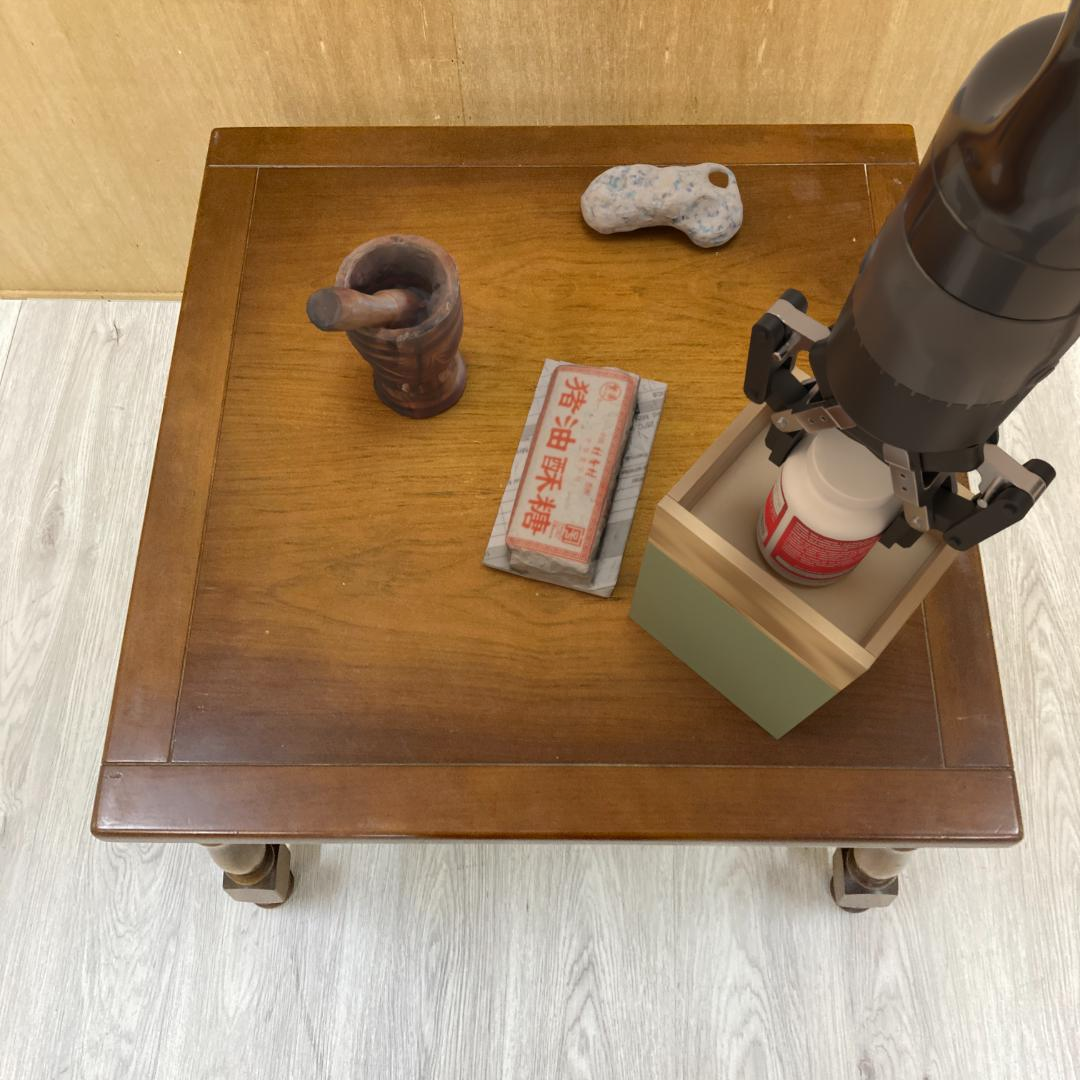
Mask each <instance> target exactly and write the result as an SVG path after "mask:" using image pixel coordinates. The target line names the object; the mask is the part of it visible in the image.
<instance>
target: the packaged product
mask: <svg viewBox="0 0 1080 1080" xmlns="http://www.w3.org/2000/svg"><path fill="white" fill-rule="evenodd" d="M667 389H668V383H666V382H662V381H658V380H652V379H648V378H643V377H641V375H640V374H638V373H637V374H636V373H635V372H630V371H627V370H624V369H621V368H619V367H617V366H615V367H613V366H602V367H599V366H596V365H595V366H594V365H592V366H590V365H583V364H577V363H574V362H573V363H572V362H568V361H564V360H559V361H558V360H554V359H552V358H548V357H546V358H545V361H544V363H543V367H542V369H541V373H540V376H539V377H538V382H537V385H536V388H535V392H534V395H533V398H532V402H531V405H530V408H529V411H528V414H527V416H526V417H527V418H526V420H525V423H524V426H523V427H524V428H523V430H522V433H521V437H520V439H519V443H518V447H517V450H516V453H515V455H514V459H513V462H512V465H511V470H510V475H509V479H508V480H507V482H506V487H505V489H504V492H503V495H502V497H501V500H500V504H499V507H498V512H497V515H496V519H495V521H494V525H493V526H492V527H493V528H492V531H491V533H490V537H489V540H488V543H487V547H486V549H485V552H484V556H483V559H482V563H481V565H482V566H486V567H490V568H493V569H496V570H499V571H502V572H507V573H510V574H514V575H518V576H520V577H524V578H527V579H531V580H535V581H540V582H544V583H547V584H552V585H557V586H561V587H564V588H567V589H572V590H575V591H576V590H577V591H580V592H584V593H588V594H590V595H591V594H592V595H595V596H599V597H603V598H610V597H611V594H612V593H613V591H614V589H615V587H616V584H617V581H618V578H619V573H620V570H621V565H622V561H623V555H624V552H625V549H626V545H627V542H628V538H629V535H630V531H631V528H632V524H633V521H634V518H635V513H636V508H637V503H638V500H639V497H640V493H641V490H642V486H643V484H644V480H645V477H646V474H647V469H648V465H649V460H650V457H651V454H652V450H653V446H654V442H655V439H656V435H657V431H658V428H659V423H660V420H661V416H662V413H663V409H664V405H665V404H664V403H665V399H666V395H667V394H666V393H667Z"/></svg>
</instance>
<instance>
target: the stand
mask: <svg viewBox="0 0 1080 1080" xmlns="http://www.w3.org/2000/svg"><path fill="white" fill-rule="evenodd" d="M627 617H628V618H629V619H631V620H632V621H633V622H634V623H635V624H637V626H639V627H640V628H641V629H643V630H644V631H645V632H646V633H648V634H649V636H651V637H652V638H653V639H655V640H656V641H657V642H658V643H660V644H661V645H662V646H663V647H664V648H666V649H667V651H669V652H671V654H673V655H674V656H675V657H677V658H678V659H679V660H680V661H681V662H683V664H685V665H686V666H687V667H689V669H691V670H692V671H693V672H694V673H696V674H697V675H698V676H700V677H701V678H702V679H703V680H705V682H707V683H708V684H709V685H710V686H711V687H712V688H714V689H715V690H716V691H717V692H719V693H720V694H721V695H722V696H723V697H725V698H726V699H727V700H728V701H730V702H731V703H732V704H733V705H734V706H736V707H737V708H738V709H739V710H741V712H743V713H744V714H745V715H747V716H748V717H749V718H750V719H751V720H753V721H754V722H755V723H756V724H757V725H759V726H760V727H761V728H762V729H763V730H764V731H766V732H767V733H768V734H770V735H771V736H772V737H773V738H774V739H776V740H779V739H781V738H782V737H783V736H784V735H786V734H787V733H788V732H790V731H791V730H792V729H794V728H795V727H796V726H797V725H798V724H800V723H802V722H803V721H805V719H807V718H808V717H809V716H810V715H812V714H813V713H814V712H815V711H817V710H818V709H819V708H821V707H822V706H824V704H826V703H827V702H828V701H830V700H831V699H832V698H834V697H835V696H836V695H837V694H839V693H840V692H837V691H836V690H834V689H833V688H832V687H831V686H829V685H828V684H827V683H826V682H824V681H823V680H822V679H821V678H819V677H818V676H817V675H816V674H814V673H813V672H812V671H811V670H809V669H808V668H807V667H806V666H804V665H803V664H802V663H801V662H799V661H798V660H797V659H796V658H794V657H793V656H792V655H791V654H789V653H788V652H787V651H786V650H784V649H783V648H782V647H781V646H779V645H778V644H777V643H776V642H774V641H773V640H772V639H771V638H769V637H768V636H767V635H766V634H764V633H763V632H762V631H761V630H759V629H758V628H757V627H756V626H754V625H753V624H752V623H751V622H749V621H748V620H747V619H746V618H744V617H743V616H742V615H741V614H739V613H738V612H737V611H736V610H734V609H733V608H732V607H731V606H729V605H728V604H727V603H726V602H724V601H723V600H722V599H721V598H719V597H718V596H717V595H716V594H714V593H713V592H712V591H711V590H709V589H708V588H707V587H706V586H704V585H703V584H702V583H701V582H699V581H698V580H697V579H696V578H694V577H693V576H692V575H691V574H689V573H688V572H687V571H686V570H684V569H683V568H682V567H681V566H679V565H678V564H677V563H676V562H674V561H673V560H672V559H671V558H669V557H668V556H667V555H666V554H664V553H663V552H662V551H661V550H659V549H658V548H657V547H656V546H654V545H653V544H652V543H651V542H649V541H648V540H647V542H646V546H645V550H644V554H643V557H642V561H641V565H640V568H639V573H638V577H637V580H636V584H635V588H634V592H633V596H632V599H631V603H630V608H629V611H628V615H627Z"/></svg>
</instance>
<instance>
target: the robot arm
mask: <svg viewBox="0 0 1080 1080" xmlns="http://www.w3.org/2000/svg"><path fill="white" fill-rule="evenodd" d="M1067 6H1068V7H1067V9H1066V10H1065V11H1060V12H1053V13H1050V14H1046V15H1042V16H1039V17H1037V18H1035V19H1033V20H1030V21H1028V22H1026V23H1022V24H1020V25H1019V26H1017V27H1016V28H1015V29H1013V30H1011V31H1010V32H1008V33H1007V34H1005V35H1004V36H1003V37H1001V38H1000V39H997V41H996V42H995V43H994V44H992V46H990V48H989V49H988V50H986V51H985V53H983V55H982V56H981V57H979V58H978V60H977V61H976V63H975V64H974V65H973V67H972V68H971V70H970V71H969V73H968V74H967V76H966V77H965V79H964V80H963V82H962V83H961V85H960V86H959V88H958V89H957V91H956V93H955V94H954V95H953V97H952V99H951V101H950V103H948V106H947V108H946V110H945V112H944V115H943V117H942V119H941V120H940V122H939V125H938V127H937V129H936V131H935V133H934V134H933V136H932V139H931V141H930V142H929V145H928V147H927V149H926V151H925V154H924V155H923V158H922V160H921V162H920V164H919V165H918V168H917V169H916V172H915V174H914V176H913V178H912V180H911V182H910V184H909V186H908V187H907V190H906V191H905V192H904V193H903V195H902V196H901V198H900V199H899V200H898V201H897V203H896V204H895V205H894V207H893V208H892V210H890V212H889V214H888V215H887V217H886V219H885V220H884V222H883V224H882V226H881V228H880V229H879V231H878V233H877V235H876V237H875V239H874V240H873V241H871V242H870V244H868V248H867V249H866V252H865V254H864V255H863V258H862V260H861V262H860V264H859V267H858V274H857V276H856V279H855V281H854V283H853V285H852V287H851V289H850V291H849V294H848V295H847V298H846V300H845V302H844V304H843V306H842V308H841V310H840V312H839V315H838V317H837V319H836V321H835V322H834V323H832V324H831V325H829V326H826V325H825V324H823V323H821V322H819V321H817V320H816V319H815V318H813V317H811V316H809V315H807V313H808V312H807V311H808V306H809V302H808V300H807V298H806V296H805V295H804V294H803V293H802V292H801V291H799V290H798V289H795V288H787V289H786V290H785V291H784V292H783V293H782V294H781V295H780V297H778V298H777V299H776V300H775V301H774V302H773V303H772V305H770V306H769V308H768V309H767V310H765V312H764V313H763V314H762V315H761V317H760V318H758V320H757V321H756V322H754V324H753V325H752V326H751V332H750V339H749V344H748V345H749V346H748V352H747V354H748V355H747V361H746V367H745V374H744V381H743V387H742V391H743V393H744V395H745V397H746V398H747V399H748V400H749V402H751V401H752V402H753V403H755V404H759V405H761V404H763V403H764V402H765V403H766V404H767V405H768V406H769V407H770V408H771V409H772V411H773V414H772V415H771V421H772V424H771V426H770V429H769V431H768V433H767V435H766V438H765V445H766V447H767V448H769V449H770V450H771V451H772V452H771V454H770V456H769V458H768V460H770V461H771V462H772V463H774V464H775V465H776V466H778V467H780V466H781V465H782V464H783V463H784V462H785V460H786V458H787V456H788V455H789V453H790V451H791V450H792V448H793V447H794V446H795V445H796V444H797V442H798V441H800V440H801V439H802V438H803V437H804V436H806V434H807V433H808V434H809V433H814V432H819V431H823V430H828V429H832V428H836V429H838V430H839V431H840V432H842V433H843V434H844V435H846V436H847V437H849V438H850V439H852V440H854V441H856V442H858V443H860V444H862V445H863V446H865V447H866V448H867V449H868V450H869V451H870V452H871V453H873V454H874V455H875V456H876V457H877V458H878V459H879V460H880V461H882V462H883V463H885V464H886V465H887V466H889V467H890V472H891V479H892V485H893V491H894V496H895V498H898V499H900V500H902V501H903V507H904V510H903V511H902V512H901V513H900V514H899V516H898V517H897V518H896V520H895V521H894V522H893V523H892V524H891V526H890V527H889V528H888V529H887V530H886V532H885V533H884V534H883V535H882V536H881V538H880V539H879V540H878V541H879V542H880V543H881V544H883V545H884V546H885V547H887V548H888V549H890V548H891V547H892V546H893V545H894V544H895V543H897V544H898V545H900V546H901V547H902V548H910V547H911V546H912V545H913V544H914V543H915V542H916V541H917V540H918V539H919V538H920V537H921V536H922V535H923V534H924V533H925V532H926V531H928V530H929V529H935V530H939V531H941V532H943V533H944V534H943V539H944V541H945V542H946V543H947V544H948V545H949V546H950V547H952V548H953V549H955V550H958V551H961V552H965V551H967V550H970V549H971V548H974V547H975V546H977V545H978V544H980V543H982V542H984V541H986V540H988V539H989V538H991V537H993V536H994V535H995V536H996V535H997V534H998V533H1000V532H1002V531H1004V530H1006V529H1008V528H1010V527H1011V526H1013V525H1016V524H1017V523H1019V522H1020V521H1022V520H1023V519H1024V518H1025V517H1026V516H1027V514H1028V513H1029V512H1030V510H1031V509H1032V508H1033V507H1034V505H1035V504H1036V503H1037V501H1038V500H1039V499H1040V498H1041V497H1042V495H1043V494H1044V493H1045V491H1046V490H1047V488H1048V487H1049V486H1050V485H1051V483H1053V481H1054V480H1055V478H1056V477H1057V472H1056V469H1055V468H1054V466H1053V465H1052V464H1050V463H1049V462H1047V461H1046V460H1043V459H1042V458H1031V459H1028V460H1027V461H1026V462H1024V463H1022V464H1021V463H1020V462H1018V461H1017V460H1016V459H1014V457H1013V456H1011V455H1010V454H1008V453H1007V452H1006V451H1005V450H1004V449H1002V448H1001V447H1000V446H998V445H999V441H1000V426H1001V425H1002V424H1003V423H1004V422H1005V421H1006V419H1007V418H1008V417H1009V416H1010V415H1011V414H1012V413H1013V412H1014V411H1015V410H1016V408H1018V406H1019V405H1020V404H1021V403H1022V402H1023V401H1024V400H1025V398H1026V397H1027V396H1028V395H1029V394H1030V393H1031V392H1032V391H1033V390H1034V388H1036V386H1037V385H1038V384H1039V383H1041V382H1042V381H1044V380H1045V379H1046V378H1047V377H1049V376H1050V375H1051V374H1052V373H1053V372H1054V371H1055V370H1056V367H1058V364H1059V363H1060V360H1061V359H1062V358H1063V357H1064V355H1066V353H1067V352H1068V351H1069V350H1070V349H1071V348H1072V347H1073V345H1074V344H1075V343H1076V342H1077V341H1078V340H1079V338H1080V0H1069V3H1068V5H1067ZM801 351H803V352H808V363H809V366H810V368H811V372H812V374H813V377H811V378H809V379H806V380H803V381H801V382H800V381H799V380H798V379H797V378H796V377H795V376H794V375H793V374H792V373H791V372H792V371H793V370H794V367H795V366H796V363H797V358H798V354H800V352H801ZM973 471H976V472H977V473H978V474H979V477H980V481H979V483H978V486H977V487H978V491H979V492H978V493H976V494H975V496H973V497H972V499H971V500H968V499H966V498H964V497H962V496H960V495H958V485H957V482H958V473H963V474H965V473H971V472H973Z"/></svg>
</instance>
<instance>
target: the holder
mask: <svg viewBox="0 0 1080 1080" xmlns="http://www.w3.org/2000/svg"><path fill="white" fill-rule="evenodd" d="M791 373H792V374H793V375H794V376H795V377H796V378H797V379H798V380H799V381H800V382H801V381H803V380H806V379H809V378H812V377H811V375H809V374H807V373H806V372H805V371H803V370H802V369H800V368H799V367H798V366H796V365H795V367H794V370H793V371H792V372H791ZM772 414H773V411H772V409H771V408H770V407H769V406H768V405H767V404H766V403H765V402H764V403H763V404H761V405H759V404H755V403H753V402H752V401H749V403H748V404H747V405H746V406H745V407H744V408H743V409H742V410H741V411H740V412H739V414H738V415H737V416H736V417H734V419H733V420H732V421H731V422H730V423H729V424H728V426H727V427H726V428H725V429H723V431H722V432H721V433H720V434H719V435H718V437H717V438H716V439H715V440H714V441H713V442H712V443H711V444H710V445H709V447H708V448H707V449H706V450H704V452H703V453H702V454H701V456H699V458H698V459H696V461H695V462H694V463H692V465H691V466H690V467H689V469H687V471H686V472H685V473H684V474H683V475H682V476H681V477H680V478H679V479H678V480H677V481H676V482H675V483H674V485H673V486H672V487H671V488H670V489H669V490H668V492H667V493H666V494H664V496H663V497H662V498H661V499H660V500H659V502H657V504H656V507H655V512H654V515H653V516H654V517H653V520H652V523H651V528H650V531H649V534H648V539H647V542H648V541H649V542H651V543H652V544H653V545H654V546H656V547H657V548H658V549H659V550H661V551H662V552H663V553H664V554H666V555H667V556H668V557H669V558H671V559H672V560H673V561H674V562H676V563H677V564H678V565H679V566H681V567H682V568H683V569H684V570H686V571H687V572H688V573H689V574H691V575H692V576H693V577H694V578H696V579H697V580H698V581H699V582H701V583H702V584H703V585H704V586H706V587H707V588H708V589H709V590H711V591H712V592H713V593H714V594H716V595H717V596H718V597H719V598H721V599H722V600H723V601H724V602H726V603H727V604H728V605H729V606H731V607H732V608H733V609H734V610H736V611H737V612H738V613H739V614H741V615H742V616H743V617H744V618H746V619H747V620H748V621H749V622H751V623H752V624H753V625H754V626H756V627H757V628H758V629H759V630H761V631H762V632H763V633H764V634H766V635H767V636H768V637H769V638H771V639H772V640H773V641H774V642H776V643H777V644H778V645H779V646H781V647H782V648H783V649H784V650H786V651H787V652H788V653H789V654H791V655H792V656H793V657H794V658H796V659H797V660H798V661H799V662H801V663H802V664H803V665H804V666H806V667H807V668H808V669H809V670H811V671H812V672H813V673H814V674H816V675H817V676H818V677H819V678H821V679H822V680H823V681H824V682H826V683H827V684H828V685H829V686H831V687H832V688H833V689H834V690H836V691H837V692H839V693H840V692H841V691H842V690H844V689H845V688H847V686H849V685H851V684H852V683H853V682H854V681H856V680H857V679H858V678H859V677H861V676H862V675H863V674H864V673H866V672H867V671H868V670H869V669H870V668H871V667H872V666H873V665H874V663H875V662H876V660H877V659H879V656H880V655H881V654H882V653H883V651H884V650H885V649H886V648H887V647H888V646H889V644H890V643H891V641H892V640H893V639H894V637H896V635H897V634H898V632H899V631H900V630H901V629H902V628H903V626H904V625H905V623H906V622H907V621H908V620H909V619H910V617H911V616H912V615H913V614H914V612H915V611H916V610H917V608H918V607H919V606H920V604H921V603H922V602H923V601H924V599H925V598H926V597H927V596H928V594H929V593H930V592H931V590H932V589H933V588H934V587H935V586H936V584H937V583H938V582H939V581H940V579H941V578H942V576H943V575H944V574H945V573H946V571H948V569H949V568H950V566H951V565H952V564H953V563H954V562H955V560H956V559H957V558H958V556H959V555H960V554H961V552H962V551H958V550H955V549H953V548H952V547H950V546H949V545H948V544H947V543H946V542H945V541H944V539H943V534H944V533H943V532H941V531H939V530H935V529H929V530H928V531H926V532H925V533H924V534H923V535H922V536H921V537H920V538H919V539H918V540H917V541H916V542H915V543H914V544H913V545H912V546H911V547H910V548H902V547H901V546H900V545H898V544H897V543H895V544H894V545H893V546H892V547H891V548H890V549H888V548H887V547H885V546H884V545H883V544H881V543H880V542H879V541H877V543H876V544H875V545H874V546H873V547H872V549H871V550H870V551H869V552H868V553H867V555H866V556H865V557H864V558H863V559H862V561H861V562H860V563H859V564H858V565H857V566H856V568H855V569H854V570H853V571H852V572H851V573H849V574H848V575H847V576H845V577H844V578H842V579H840V580H838V581H836V582H834V583H831V584H826V585H820V586H811V585H803V584H799V583H796V582H793V581H790V580H788V579H786V578H785V577H783V576H782V575H780V574H779V573H778V572H776V571H775V570H774V569H773V568H772V567H771V566H770V565H769V564H768V562H767V561H766V559H765V558H764V556H763V554H762V552H761V550H760V548H759V544H758V540H757V522H758V518H759V515H760V512H761V510H762V508H763V505H764V503H765V501H766V499H767V497H768V495H769V493H770V491H771V489H772V487H773V485H774V483H775V481H776V479H777V477H778V475H779V473H780V471H781V469H782V466H783V465H784V463H783V464H782V465H781V466H780V467H778V466H776V465H775V464H774V463H772V462H771V461H770V460H768V458H769V456H770V454H771V452H772V451H771V450H770V449H769V448H767V447H766V445H765V438H766V435H767V433H768V431H769V429H770V426H771V424H772V421H771V415H772ZM807 434H808V433H807ZM807 434H806V435H807ZM957 485H958V495H960V496H962V497H964V498H966V499H968V500H971V499H972V497H973V496H975V495H976V494H975V493H973V492H972V491H971V490H970V489H968V488H967V487H965V486H963V485H962V484H961V483H960V482H958V481H957ZM903 510H904V507H903V508H902V510H901V512H902V511H903ZM901 512H900V513H901ZM898 516H899V515H898Z"/></svg>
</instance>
